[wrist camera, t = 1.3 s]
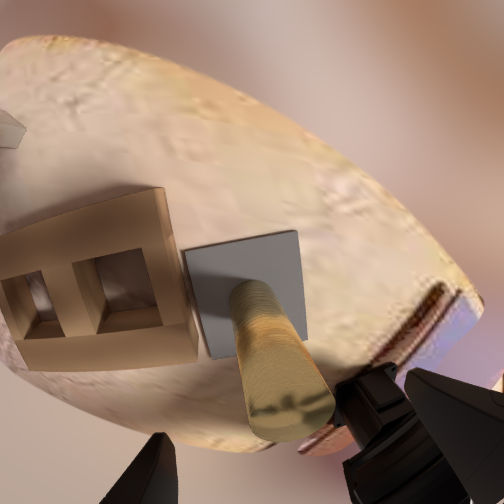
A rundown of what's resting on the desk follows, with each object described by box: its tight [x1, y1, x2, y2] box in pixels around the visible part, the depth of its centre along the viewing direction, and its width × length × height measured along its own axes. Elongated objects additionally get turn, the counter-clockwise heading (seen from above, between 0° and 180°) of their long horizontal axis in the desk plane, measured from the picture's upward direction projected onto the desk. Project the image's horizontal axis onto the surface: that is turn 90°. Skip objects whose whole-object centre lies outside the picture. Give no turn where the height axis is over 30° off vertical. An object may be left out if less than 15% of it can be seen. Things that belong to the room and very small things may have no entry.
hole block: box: [0, 188, 199, 372], centre depth 14 cm, size 10×14×3 cm
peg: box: [229, 280, 336, 442], centre depth 13 cm, size 3×3×10 cm
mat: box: [185, 231, 308, 360], centre depth 18 cm, size 8×7×1 cm
